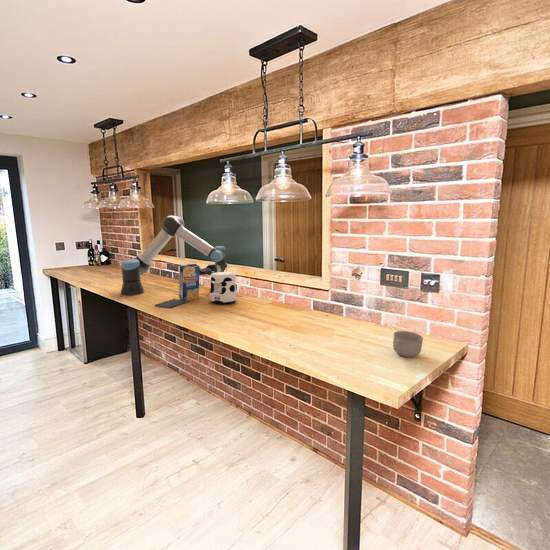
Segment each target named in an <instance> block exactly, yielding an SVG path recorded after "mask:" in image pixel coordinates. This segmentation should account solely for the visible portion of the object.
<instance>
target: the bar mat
mask: <svg viewBox="0 0 550 550" xmlns="http://www.w3.org/2000/svg"><path fill="white" fill-rule="evenodd" d="M187 303H190V300H181V299H177V298H172V299H169V300H166V301H163V302H160V303H159V302H158V303H156V304H154V307H159V308H165V309H166V308H167V309H173V308H175V307H178V306H181V305H184V304H187Z"/></svg>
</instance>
